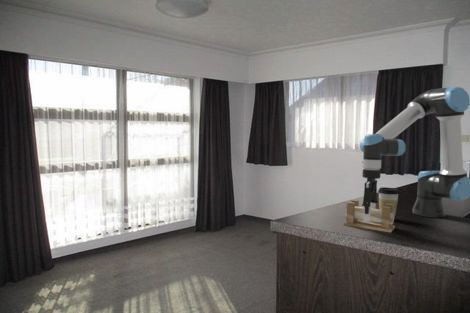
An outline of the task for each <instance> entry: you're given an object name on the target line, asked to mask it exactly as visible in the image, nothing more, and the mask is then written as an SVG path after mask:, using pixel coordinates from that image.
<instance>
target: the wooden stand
mask: <svg viewBox="0 0 470 313" xmlns="http://www.w3.org/2000/svg"><path fill="white" fill-rule="evenodd" d="M359 202H360V201H359V200H357V199H351V201H347V203H346V206H347V215H346V220H345V222H343V226H346V225H347V226H346V227H353V228H359V229H360V228H361V229H365V230H372V231H379V232H385V233H392V232H393V231H394V229H395V225H393V224H390V210H393V204H385V206H383V207H382V223H379V222H372V221H370V222H368V221H363V220H358V219H354V209H355V206H357V207H360V206H359Z"/></svg>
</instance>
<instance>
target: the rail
mask: <svg viewBox="0 0 470 313" xmlns="http://www.w3.org/2000/svg"><path fill="white" fill-rule="evenodd" d="M344 212H345V214H344V215H345V217H344V218H346V215H347V205H346V206H345V211H344ZM363 217H364V206H358V207H357V206H355V209H354V219H358V221H363ZM394 220H395V217H394V210H390V224H392V225H393V224H394ZM370 222H372V223H379V224H381V223H382V210H380V209H379V208H375V209H372V208H371V214H370Z"/></svg>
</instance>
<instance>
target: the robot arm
mask: <svg viewBox="0 0 470 313" xmlns="http://www.w3.org/2000/svg"><path fill="white" fill-rule="evenodd" d="M469 106H470V94H468V92H467V90H465V89H464V88H463V87H460V86H448V87H442V88H434V89H433V88H432V89H430V90H426V91H424V92H423V93H421V94H420V95H418V96H416V97H415V98H414V99H413V100H412V101H410V102H409V103H408V104H407V107H406V108H405V109H404V110H402V111H401V112H400V113H399V114H398V115H396V116H395V117H394V118H393V119H391V120H390V121H389V122H387V124H385V125H384V126H383V127H382V128H380V129H379V130H378V131H377V132H376V133H374V134H370V133H369V134H365V135H364V138H363V139H362V140H360V143H359V148H360V151H361V152H362V154H363V158H362V159H363V160H362V161H361V163H362V168H363V169H362V178H364V179H366V182H364V190H363V200H362V204H361V205H362V206H361V207H364V217H363V220H362V221H365V222H371V221H370V214H371V208H372V209H376V206H377V203H378V204H379V200H378V198H377V197H378V195H377V194H378V188H377V187H378V180H377V179H381V173H382V172H381V169H382V157H383V156H384V157H385V156H389V157H391V156H392V157H394V156H395V157H397V156H399V157H400V156H402V155H404V153H405V152H406V147H407V146H406V142H405V141H404V140H402V139H397V136H399V135H400V134H401V133H402V132H404V131H405V130H406V129H408V128H409V127H410V126H411V125H412V124H413V123H415V122H416V121H417V120H418V119H422V118H424V117H425V116H427V115H430V114H435V118H436V119H437V120H439V130H440V147H441V148H440V150H441V165H442V166H441V167H442V169H441V170H424V171H420V172H419V173H418V177H417V190H416V191H417V192H416V193H417V196H416V200H415V202H414V205H413V206H412V213H413V214H414V215H418V216H421V217H427V218H445V217H446V210H445V206H444V203H443V198H445V199H449V200H452V201H460V202H461V201H466V200H467V199H468V198H470V177H469V176H468V171H467V170H466V169H465V168H464V165H463V164H464V162H463V144H462V143H463V141H462V140H463V139H462V122H461V120H462V118H463V116H465V112H466V111H467V110H468V108H469Z"/></svg>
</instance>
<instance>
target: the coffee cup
mask: <svg viewBox="0 0 470 313" xmlns="http://www.w3.org/2000/svg"><path fill="white" fill-rule="evenodd" d="M377 193H378V209H380V210H382V207H383V206H385V204H393V210H394V218H396V217H395V216H396V212H397V208H398V207H397V206H398V202H399V200H398V199H399V195H400V191H399V189H398V188H394V187H386V186H384V187H383V186H382V187H379V189H377Z"/></svg>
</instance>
